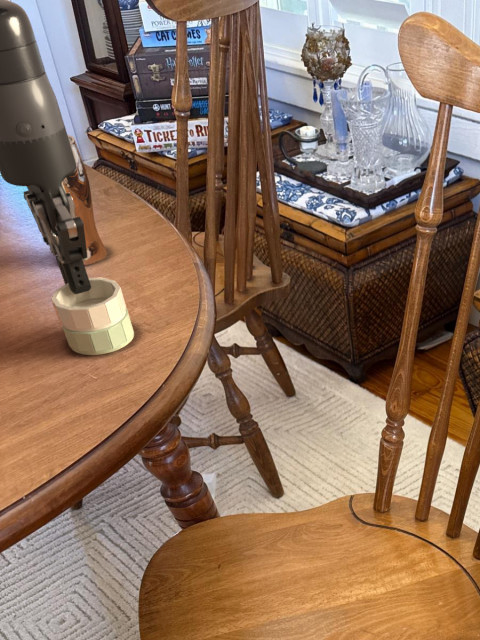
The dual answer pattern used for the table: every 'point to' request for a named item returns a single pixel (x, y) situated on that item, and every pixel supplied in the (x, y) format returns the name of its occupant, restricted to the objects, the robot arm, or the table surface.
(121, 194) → the table surface
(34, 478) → the table surface
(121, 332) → the pale green hollow cylinder
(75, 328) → the faceted cream ring
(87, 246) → the beer glass
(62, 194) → the robot arm
